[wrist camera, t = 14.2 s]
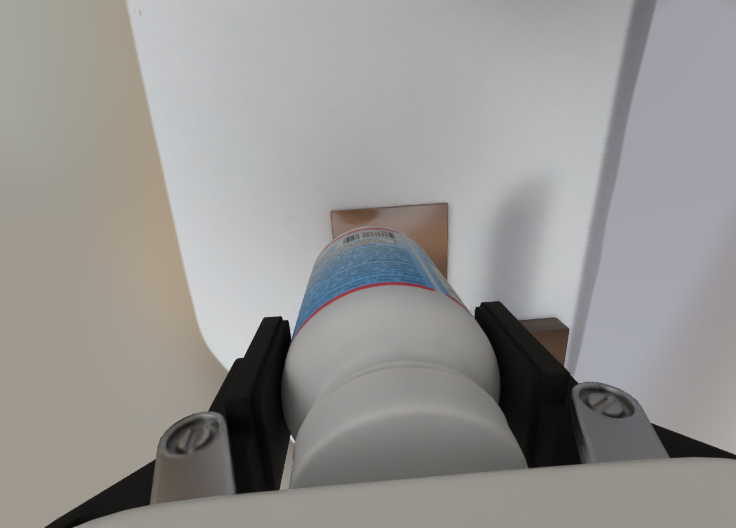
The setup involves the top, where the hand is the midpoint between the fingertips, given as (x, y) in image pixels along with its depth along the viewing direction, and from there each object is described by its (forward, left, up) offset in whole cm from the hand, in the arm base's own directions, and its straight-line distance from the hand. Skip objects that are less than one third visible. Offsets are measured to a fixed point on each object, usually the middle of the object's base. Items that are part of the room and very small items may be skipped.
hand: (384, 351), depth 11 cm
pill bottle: (0, 0, -6) cm, 6 cm away
